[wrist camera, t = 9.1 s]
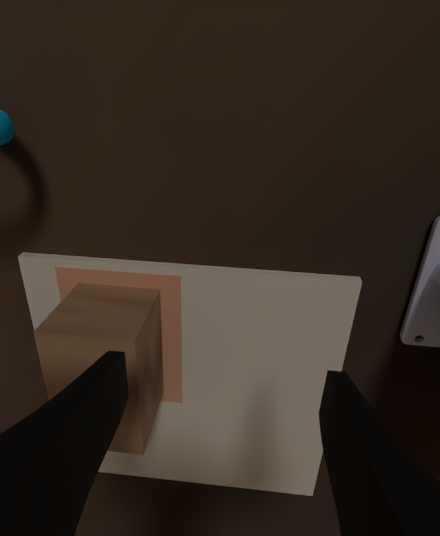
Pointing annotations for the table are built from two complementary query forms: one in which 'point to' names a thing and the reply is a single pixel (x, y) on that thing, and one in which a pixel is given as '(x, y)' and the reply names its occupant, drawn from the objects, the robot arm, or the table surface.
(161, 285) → the card mat
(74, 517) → the robot arm
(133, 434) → the box
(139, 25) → the table surface
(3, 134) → the mug
